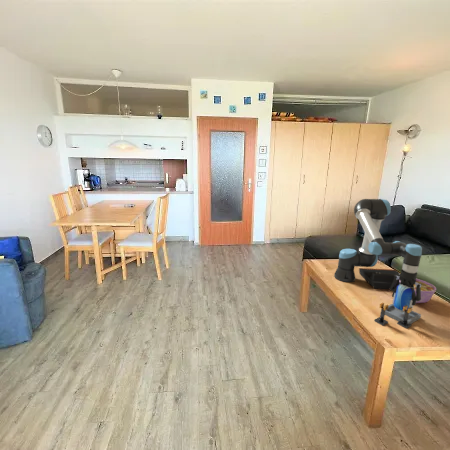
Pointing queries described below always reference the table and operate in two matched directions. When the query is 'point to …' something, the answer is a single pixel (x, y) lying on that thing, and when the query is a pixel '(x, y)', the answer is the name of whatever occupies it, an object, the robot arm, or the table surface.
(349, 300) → the table surface
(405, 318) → the clip posts
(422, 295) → the bowl of food
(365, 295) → the table surface
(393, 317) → the tray
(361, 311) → the table surface
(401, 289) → the beer can
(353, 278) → the robot arm
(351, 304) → the table surface
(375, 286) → the video game console
